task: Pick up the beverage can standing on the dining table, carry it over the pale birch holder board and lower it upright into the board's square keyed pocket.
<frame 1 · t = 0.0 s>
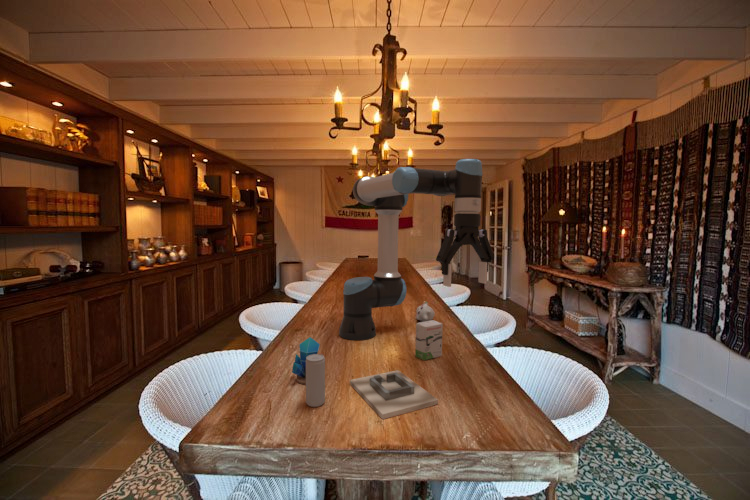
hand: (465, 284, 104), 28 cm above the table, fingers open, 13 cm apart
beverage can: (315, 403, 89), on the table
gemstone: (307, 380, 102), on the table
ink box: (428, 356, 122), on the table
pale grey lumpy bulb: (424, 321, 165), on the table
holder board: (391, 393, 94), on the table
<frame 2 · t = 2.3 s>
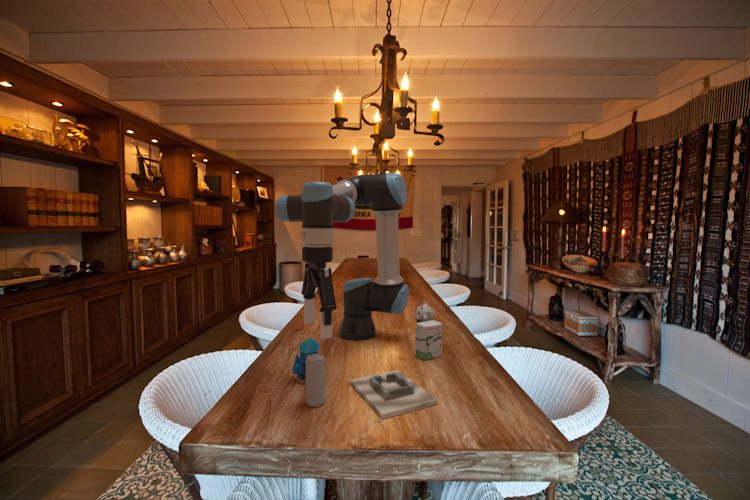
hand: (317, 330, 88), 19 cm above the table, fingers open, 13 cm apart
nothing on the table moved.
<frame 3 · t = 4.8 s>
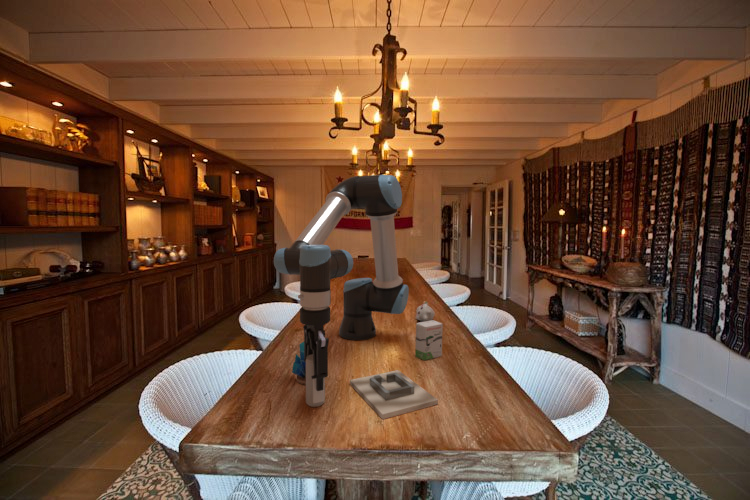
hand: (315, 396, 89), 2 cm above the table, fingers closed on beverage can, 5 cm apart
beverage can: (315, 403, 89), on the table, touching gripper
everything else where it was.
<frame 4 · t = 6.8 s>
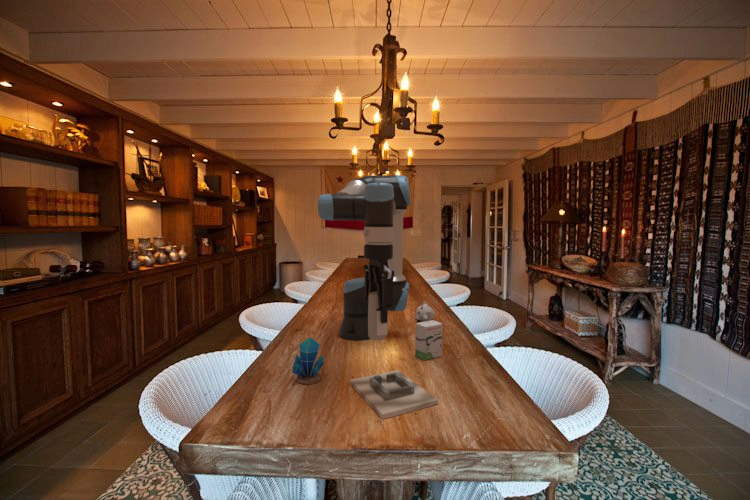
hand: (377, 331, 92), 17 cm above the table, fingers closed on beverage can, 5 cm apart
beverage can: (377, 338, 92), point 16 cm above the table, touching gripper
everything else where it was.
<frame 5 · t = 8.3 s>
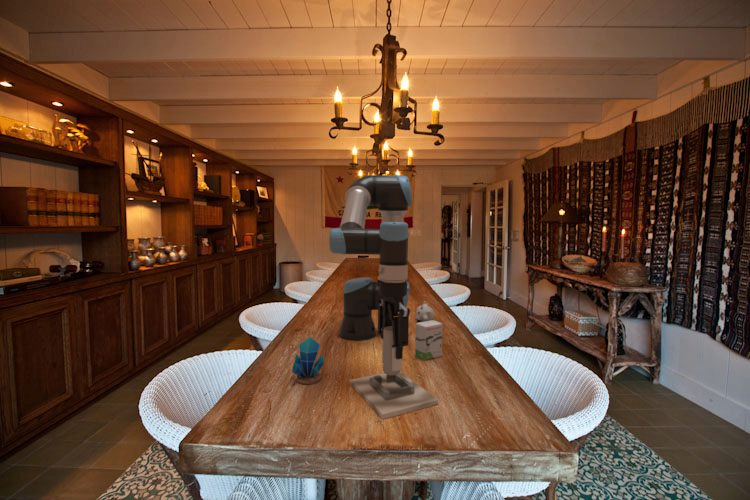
hand: (391, 365, 94), 8 cm above the table, fingers closed on beverage can, 5 cm apart
beverage can: (391, 372, 94), point 6 cm above the table, touching gripper
everything else where it was.
when the fingers open (5 cm above the table, at t = 9.0 s): beverage can drops 2 cm, resting on holder board.
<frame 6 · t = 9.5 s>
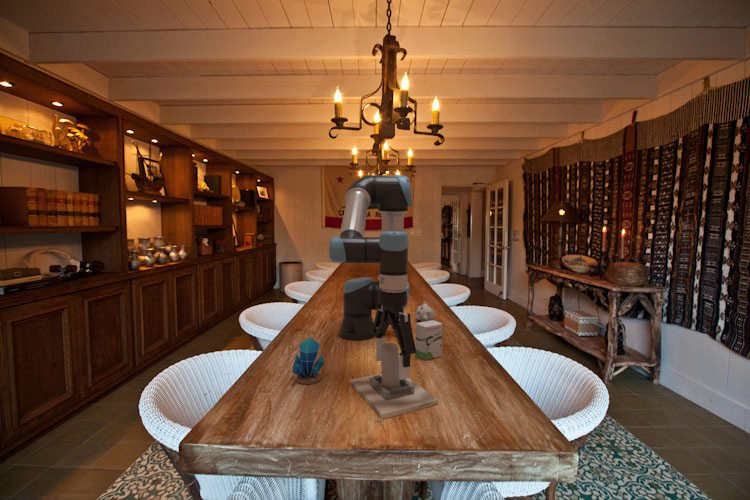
hand: (391, 368, 94), 7 cm above the table, fingers open, 12 cm apart
beverage can: (391, 389, 94), point 1 cm above the table, touching holder board
everything else where it was.
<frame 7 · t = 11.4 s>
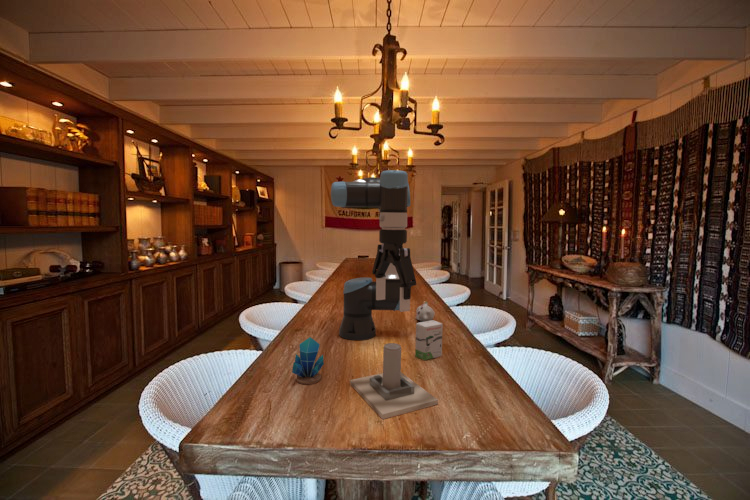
hand: (391, 305, 97), 23 cm above the table, fingers open, 13 cm apart
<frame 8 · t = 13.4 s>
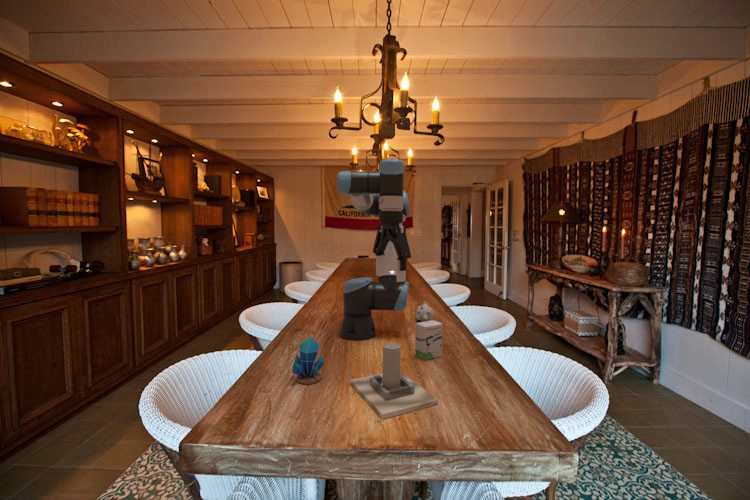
hand: (390, 278, 110), 29 cm above the table, fingers open, 13 cm apart
nothing on the table moved.
at the end: beverage can 0.0 cm off-centre on the holder board, point 1.0 cm above the holder board's base; beverage can tilted 0°; the gripper is holding nothing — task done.
